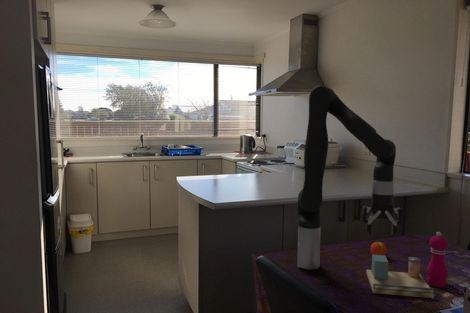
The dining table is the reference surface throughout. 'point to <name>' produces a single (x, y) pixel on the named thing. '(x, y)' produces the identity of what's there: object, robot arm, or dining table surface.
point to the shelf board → (401, 285)
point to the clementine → (378, 248)
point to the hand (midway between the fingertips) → (381, 233)
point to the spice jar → (414, 267)
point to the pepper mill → (437, 261)
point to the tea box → (379, 267)
